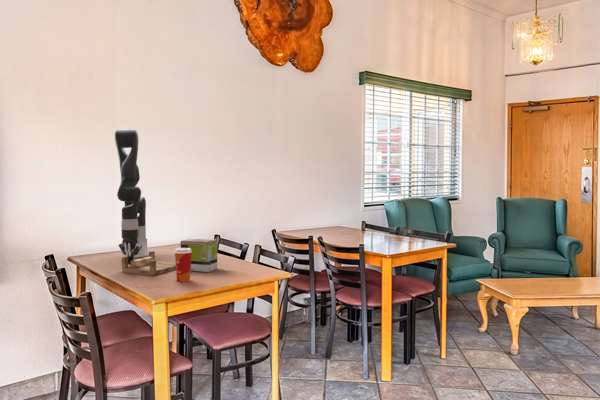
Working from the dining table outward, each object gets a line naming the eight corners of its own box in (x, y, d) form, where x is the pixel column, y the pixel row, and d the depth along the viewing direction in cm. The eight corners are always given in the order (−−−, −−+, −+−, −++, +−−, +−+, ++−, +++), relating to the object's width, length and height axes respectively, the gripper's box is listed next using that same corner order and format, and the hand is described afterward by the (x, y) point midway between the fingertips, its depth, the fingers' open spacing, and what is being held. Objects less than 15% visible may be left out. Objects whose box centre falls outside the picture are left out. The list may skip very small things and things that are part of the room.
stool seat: (151, 264, 246) (151, 251, 246) (181, 267, 238) (181, 253, 238) (122, 272, 228) (121, 257, 228) (153, 276, 220) (152, 260, 220)
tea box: (218, 268, 237) (217, 238, 236) (207, 272, 228) (207, 241, 227) (191, 266, 242) (191, 237, 241) (180, 270, 233) (179, 240, 232)
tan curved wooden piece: (152, 262, 242) (152, 254, 242) (156, 262, 241) (156, 255, 241) (130, 267, 228) (130, 259, 228) (134, 268, 227) (134, 260, 227)
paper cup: (176, 278, 215) (175, 247, 214) (193, 278, 216) (193, 247, 215) (172, 282, 207) (172, 250, 206) (191, 282, 208) (190, 250, 207)
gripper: (146, 228, 230) (146, 264, 231) (125, 226, 236) (126, 261, 237) (134, 230, 223) (135, 266, 225) (113, 228, 229) (114, 264, 230)
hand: (130, 264), depth 231 cm, fingers closed
